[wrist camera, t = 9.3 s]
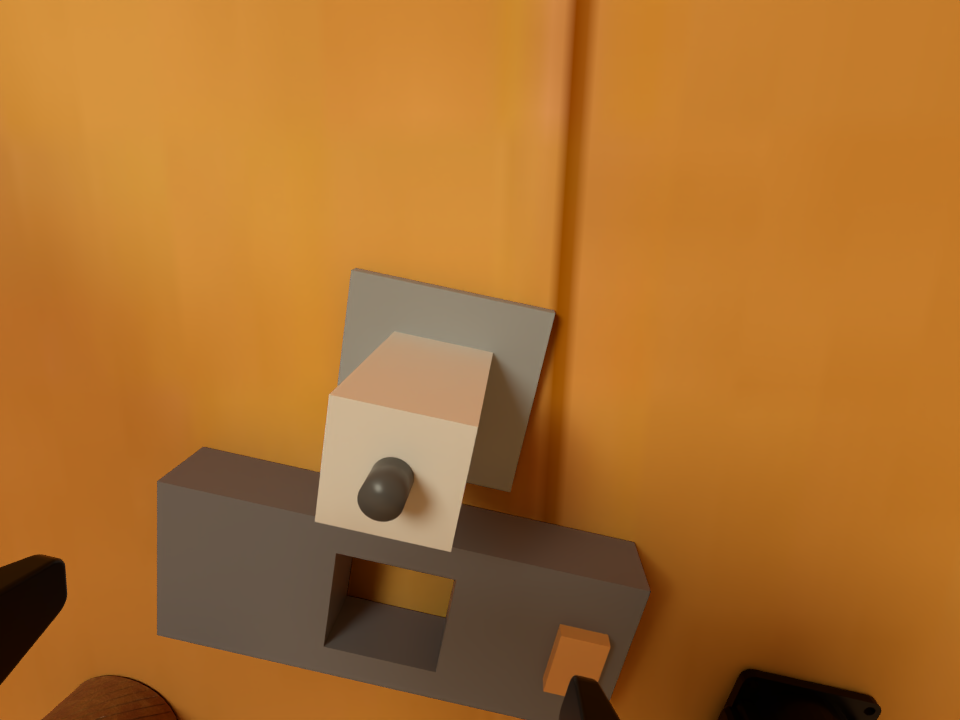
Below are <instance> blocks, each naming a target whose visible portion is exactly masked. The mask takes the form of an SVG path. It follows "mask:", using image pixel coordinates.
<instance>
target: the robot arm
mask: <svg viewBox="0 0 960 720" xmlns="http://www.w3.org/2000/svg"><path fill="white" fill-rule="evenodd" d="M66 598H67V585H66V571H65V563H64V562H63V561H62V560H61V559H59V558H55V557H51V556H46V555H33V556H30V557H27V558H25V559H22V560H19V561H16V562H14V563H11V564H8V565H6V566H3V567H0V685H1V684H2V683H3V681H4V680H5V679H6V678H7V676H8V675H9V674H10V673H11V671H12V670H13V669H14V668H15V667H16V665H17V664H18V663H19V662H20V660H21V659H22V658H23V657H24V655H25V654H26V653H27V652H28V651H29V649H30V648H31V647H32V646H33V644H34V643H35V642H36V641H37V639H38V638H39V637H40V636H41V635H42V633H43V632H44V631H45V630H46V628H47V627H48V626H49V625H50V623H51V622H52V621H53V620H54V619H55V617H56V616H57V615H58V614H59V612H60V611H61V609H62V608H63V606H64V604H65V602H66ZM880 713H881V707H880V706H879V705H878V703H877V702H876V700H875V699H874V698H873V697H871V696H869V695H864V694H860V693H855V692H851V691H847V690H842V689H838V688H833V687H829V686H824V685H820V684H816V683H811V682H807V681H802V680H798V679H793V678H789V677H784V676H780V675H776V674H771V673H767V672H762V671H758V670H753V669H748V670H745V671H743V672H741V674H740V675H739V677H738V679H737V681H736V683H735V685H734V687H733V690H732V692H731V694H730V696H729V698H728V700H727V702H726V704H725V706H724V708H723V710H722V712H721V714H720V716H719V718H718V720H877V718H878V717H879V715H880ZM559 720H620V719H619V717H618V715H617V714H616V712H615V710H614V708H613V707H612V705H611V703H610V702H609V700H608V698H607V696H606V695H605V693H604V691H603V689H602V688H601V686H600V684H599V683H598V682H597V681H596V680H595V679H592V678H587V677H583V676H578V675H574V676H573V677H572V678H571V680H570V682H569V685H568V688H567V691H566V694H565V697H564V700H563V703H562V706H561V709H560V714H559Z"/></svg>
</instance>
